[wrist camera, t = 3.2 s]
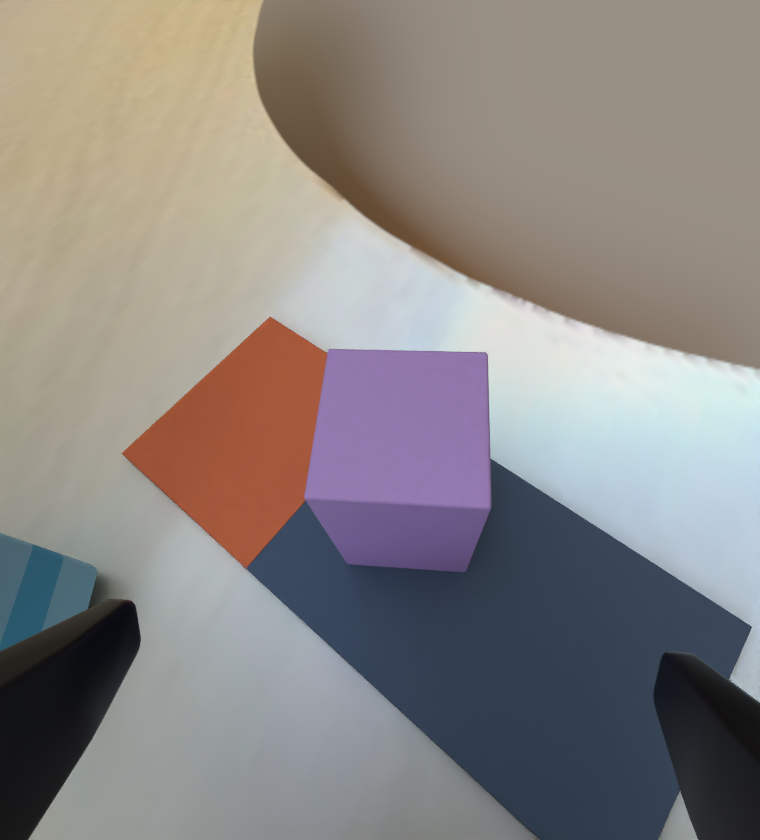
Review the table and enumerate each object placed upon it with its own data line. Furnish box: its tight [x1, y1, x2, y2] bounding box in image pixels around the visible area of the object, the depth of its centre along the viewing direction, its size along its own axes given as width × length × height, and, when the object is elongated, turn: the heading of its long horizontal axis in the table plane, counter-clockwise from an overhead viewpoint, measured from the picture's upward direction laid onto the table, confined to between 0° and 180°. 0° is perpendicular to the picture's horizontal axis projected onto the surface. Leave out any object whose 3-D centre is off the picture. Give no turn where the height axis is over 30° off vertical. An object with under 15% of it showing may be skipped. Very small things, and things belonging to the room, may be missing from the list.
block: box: [304, 349, 491, 572], centre depth 18 cm, size 5×5×8 cm
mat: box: [122, 317, 752, 840], centre depth 21 cm, size 26×10×1 cm, turn 51°
